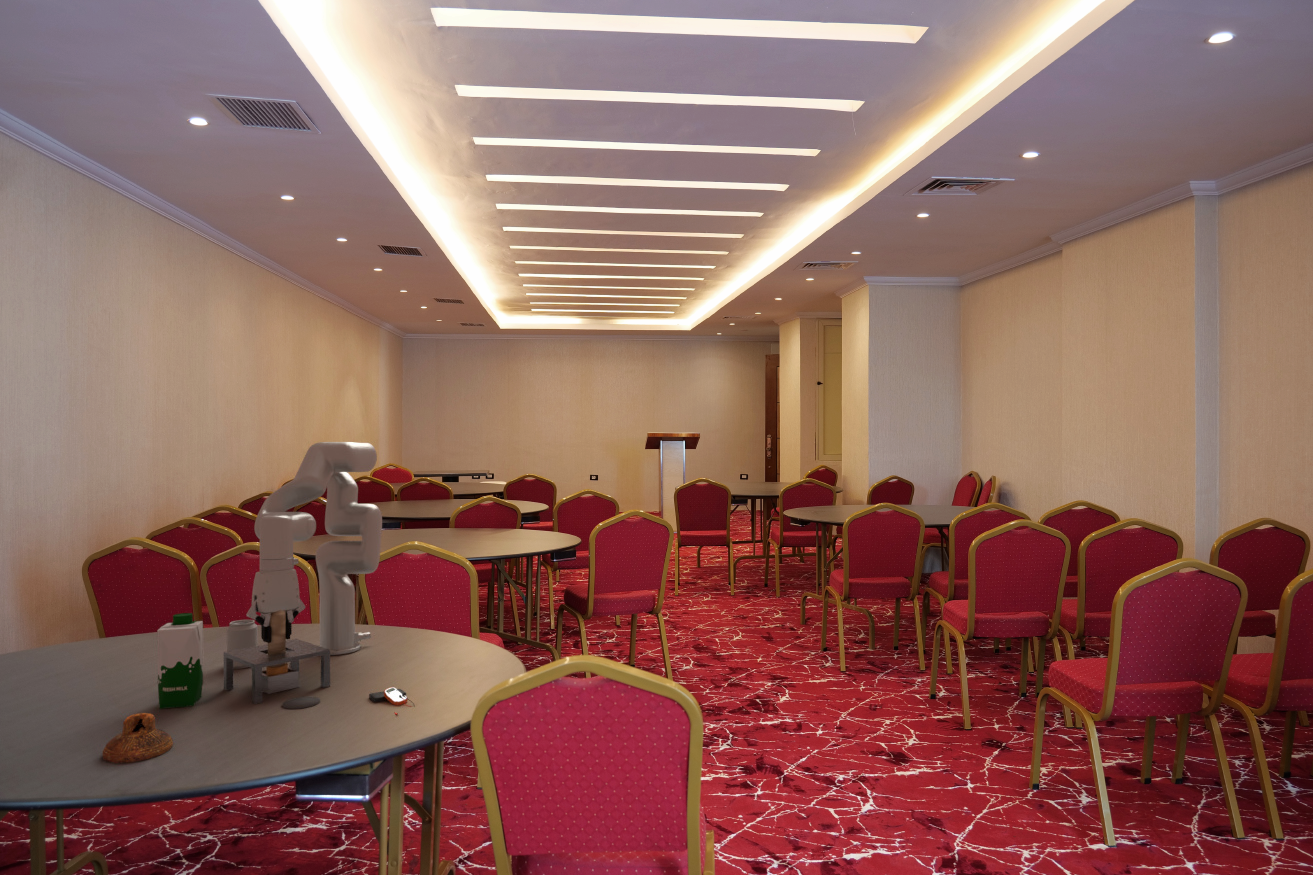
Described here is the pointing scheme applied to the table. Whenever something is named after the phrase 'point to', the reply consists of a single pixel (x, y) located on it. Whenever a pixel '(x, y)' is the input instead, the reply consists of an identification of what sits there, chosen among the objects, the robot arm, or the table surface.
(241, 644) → the can
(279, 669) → the orange-brown round lump
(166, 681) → the milk carton
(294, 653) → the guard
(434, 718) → the table surface
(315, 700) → the coaster
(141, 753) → the brown rounded piece
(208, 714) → the table surface
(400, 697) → the multimeter
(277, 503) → the robot arm
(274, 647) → the dowel
